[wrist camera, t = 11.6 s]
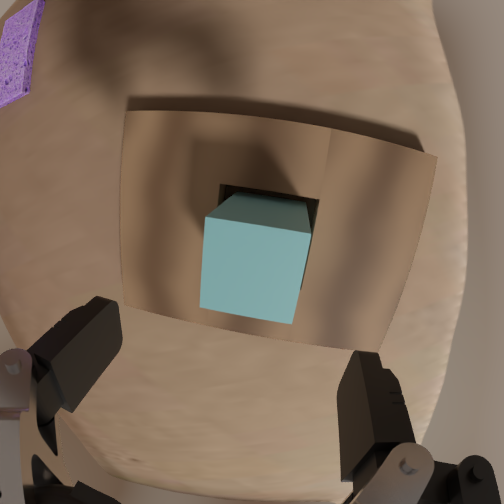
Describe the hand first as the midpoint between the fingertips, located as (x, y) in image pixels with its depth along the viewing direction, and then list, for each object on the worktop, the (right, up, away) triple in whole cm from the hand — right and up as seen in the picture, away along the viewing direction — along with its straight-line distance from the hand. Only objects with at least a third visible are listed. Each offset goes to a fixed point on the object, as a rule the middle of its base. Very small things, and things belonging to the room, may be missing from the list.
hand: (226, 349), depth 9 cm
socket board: (+2, +5, +13) cm, 14 cm away
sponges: (-25, +26, +10) cm, 37 cm away
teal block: (+2, +5, +13) cm, 14 cm away
